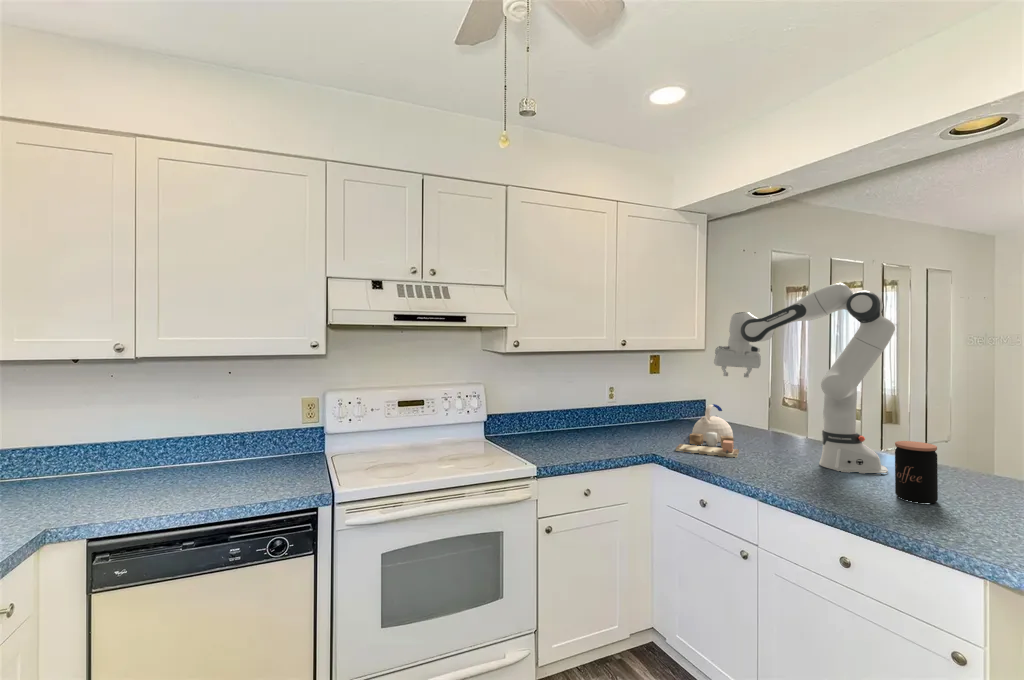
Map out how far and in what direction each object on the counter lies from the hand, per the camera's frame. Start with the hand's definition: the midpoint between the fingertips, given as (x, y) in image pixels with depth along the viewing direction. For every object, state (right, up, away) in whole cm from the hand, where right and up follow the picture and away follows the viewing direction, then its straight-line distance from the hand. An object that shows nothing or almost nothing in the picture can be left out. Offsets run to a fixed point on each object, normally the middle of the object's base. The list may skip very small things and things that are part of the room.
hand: (735, 376), depth 224 cm
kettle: (+1, -35, +30) cm, 46 cm away
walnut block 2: (0, -35, +10) cm, 36 cm away
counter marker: (-6, -33, -5) cm, 34 cm away
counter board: (-13, -35, 0) cm, 37 cm away
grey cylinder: (-5, -35, +14) cm, 38 cm away
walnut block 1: (-12, -35, +17) cm, 41 cm away
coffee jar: (+28, -35, -67) cm, 80 cm away
